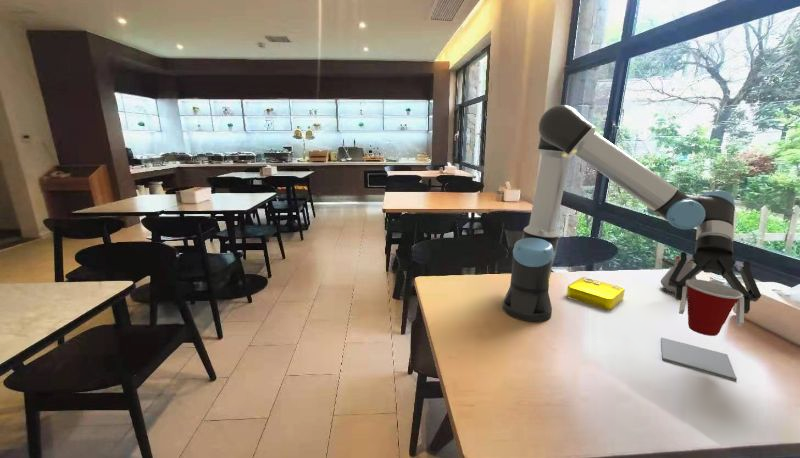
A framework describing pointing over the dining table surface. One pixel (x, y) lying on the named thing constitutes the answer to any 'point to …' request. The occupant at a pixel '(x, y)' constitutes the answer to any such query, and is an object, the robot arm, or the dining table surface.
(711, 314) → the plastic cup
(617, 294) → the element tile
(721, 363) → the card
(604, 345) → the dining table surface
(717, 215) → the robot arm
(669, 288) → the coffee pot
